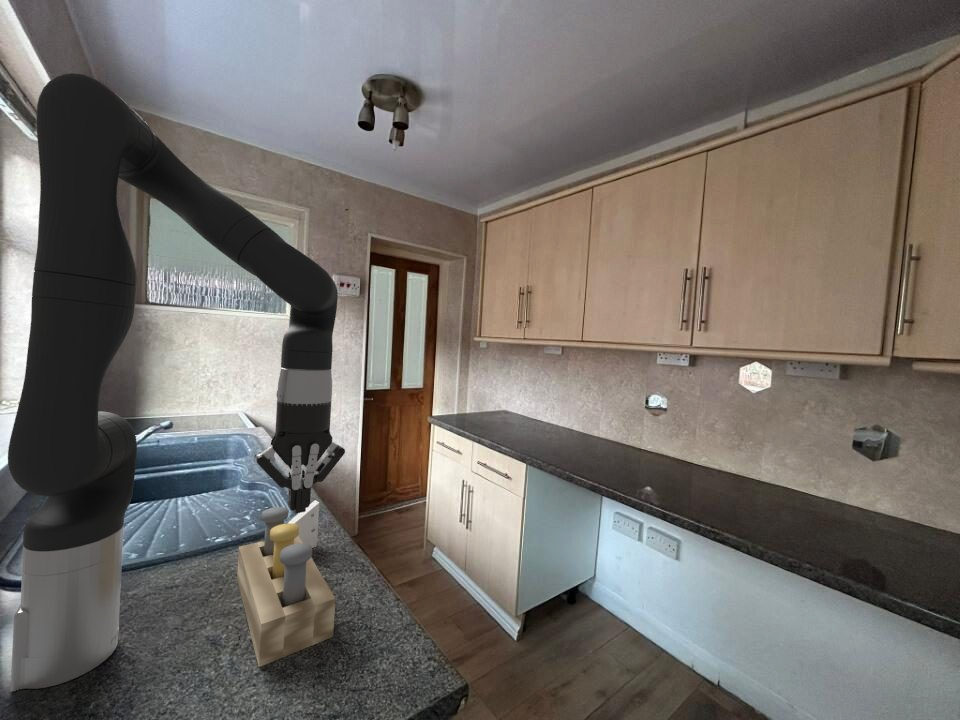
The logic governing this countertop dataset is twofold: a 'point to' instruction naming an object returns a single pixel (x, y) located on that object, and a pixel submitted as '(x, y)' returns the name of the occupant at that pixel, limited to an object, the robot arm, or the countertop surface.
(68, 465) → the robot arm
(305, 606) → the block
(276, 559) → the ochre plug
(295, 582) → the grey plug near
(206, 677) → the countertop surface
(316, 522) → the white wedge bracket
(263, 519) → the grey plug far
